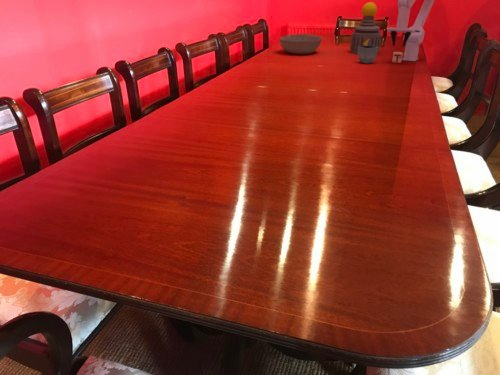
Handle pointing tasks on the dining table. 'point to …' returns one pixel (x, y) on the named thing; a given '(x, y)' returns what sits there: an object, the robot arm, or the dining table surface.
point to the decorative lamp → (366, 30)
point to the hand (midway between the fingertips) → (398, 45)
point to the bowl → (300, 43)
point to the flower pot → (367, 53)
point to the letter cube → (397, 57)
